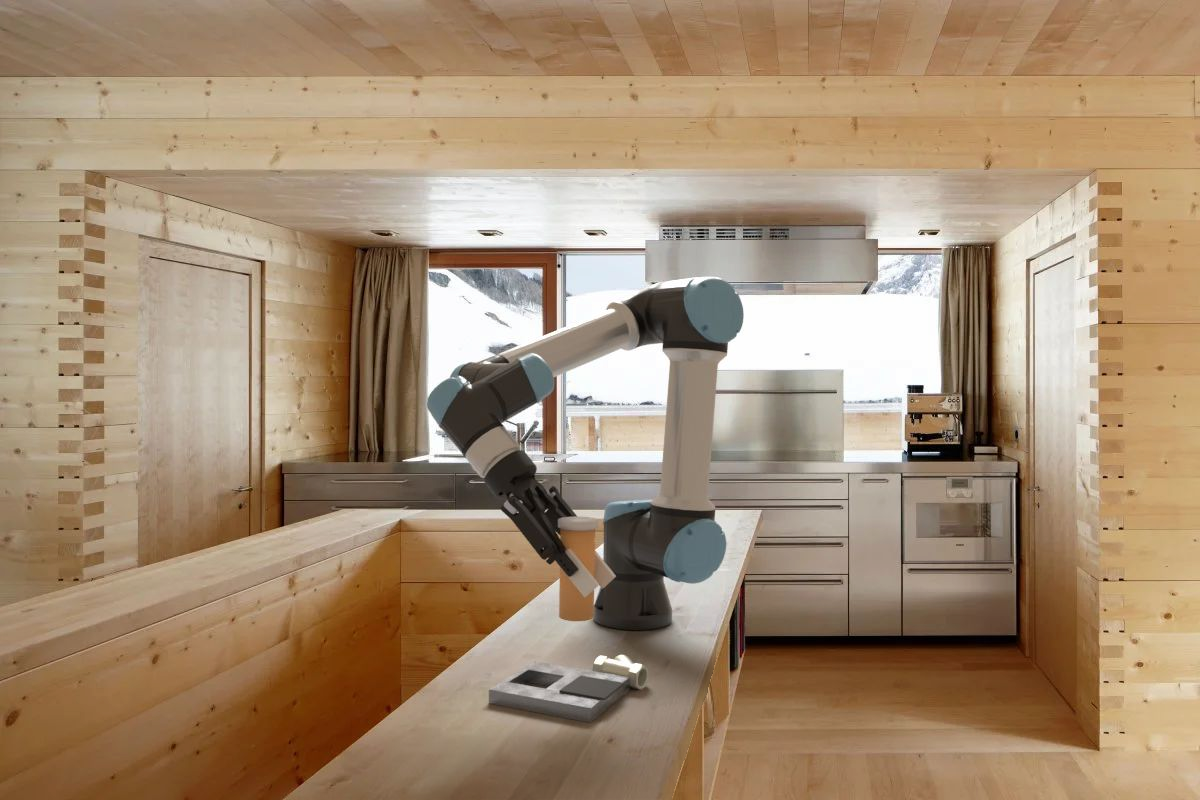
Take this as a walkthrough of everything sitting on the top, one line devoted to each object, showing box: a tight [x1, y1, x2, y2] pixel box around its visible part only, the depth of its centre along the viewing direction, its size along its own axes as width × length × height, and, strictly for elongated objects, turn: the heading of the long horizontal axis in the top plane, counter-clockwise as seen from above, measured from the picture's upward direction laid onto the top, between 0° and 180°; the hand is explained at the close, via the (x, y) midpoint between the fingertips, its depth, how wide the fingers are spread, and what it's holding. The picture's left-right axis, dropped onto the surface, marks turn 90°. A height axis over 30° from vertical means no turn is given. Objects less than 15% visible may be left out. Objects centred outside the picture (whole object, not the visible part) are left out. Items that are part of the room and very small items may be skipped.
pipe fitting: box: [591, 654, 649, 691], centre depth 141 cm, size 8×4×7 cm
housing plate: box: [488, 661, 631, 723], centre depth 134 cm, size 14×16×2 cm
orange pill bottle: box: [558, 516, 599, 622], centre depth 131 cm, size 6×6×14 cm
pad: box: [559, 675, 624, 700], centre depth 131 cm, size 7×7×1 cm
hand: (600, 586), depth 130 cm, fingers closed on orange pill bottle, 5 cm apart
